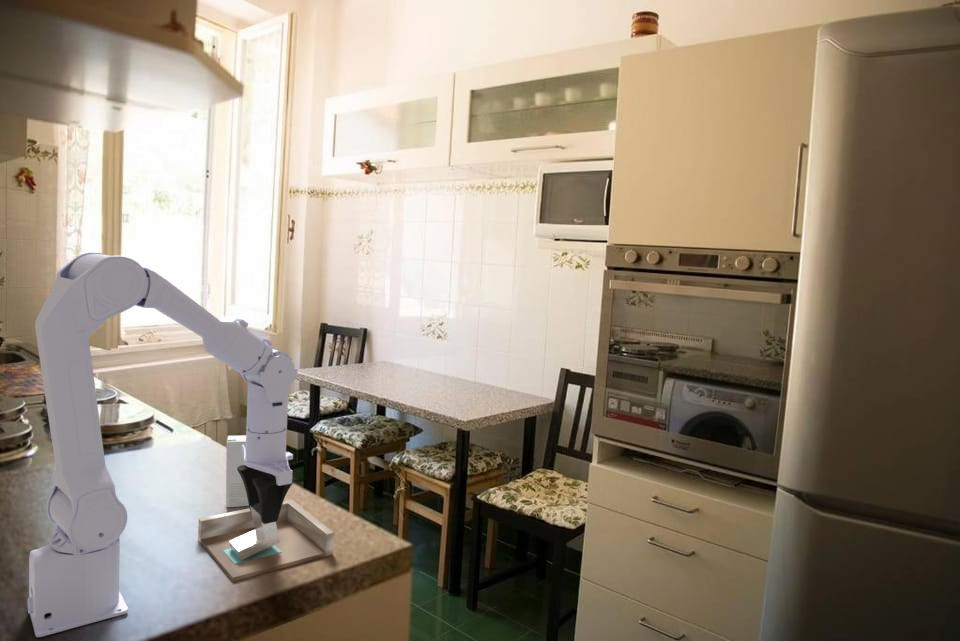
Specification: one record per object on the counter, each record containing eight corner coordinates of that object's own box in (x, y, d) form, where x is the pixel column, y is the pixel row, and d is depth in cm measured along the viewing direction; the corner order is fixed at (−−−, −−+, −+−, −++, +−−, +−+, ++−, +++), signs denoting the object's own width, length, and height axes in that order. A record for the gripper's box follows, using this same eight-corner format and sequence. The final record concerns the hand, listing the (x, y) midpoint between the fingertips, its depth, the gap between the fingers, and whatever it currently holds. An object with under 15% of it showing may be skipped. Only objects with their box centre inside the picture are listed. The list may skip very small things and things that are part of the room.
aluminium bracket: (279, 542, 97) (273, 509, 95) (240, 560, 93) (233, 526, 92) (269, 532, 100) (262, 500, 98) (230, 549, 96) (223, 517, 95)
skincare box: (261, 497, 118) (263, 433, 117) (261, 506, 114) (264, 440, 113) (225, 499, 116) (227, 434, 115) (224, 509, 112) (226, 441, 111)
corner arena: (232, 581, 88) (233, 557, 88) (198, 540, 100) (198, 518, 99) (332, 554, 98) (334, 532, 98) (291, 519, 110) (291, 499, 109)
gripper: (313, 437, 92) (309, 527, 94) (273, 414, 103) (270, 495, 105) (265, 444, 88) (262, 539, 89) (228, 419, 99) (226, 504, 100)
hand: (263, 516), depth 97 cm, fingers closed on aluminium bracket, 4 cm apart
